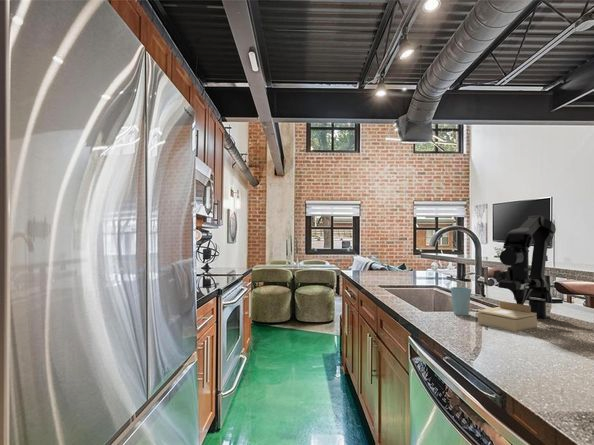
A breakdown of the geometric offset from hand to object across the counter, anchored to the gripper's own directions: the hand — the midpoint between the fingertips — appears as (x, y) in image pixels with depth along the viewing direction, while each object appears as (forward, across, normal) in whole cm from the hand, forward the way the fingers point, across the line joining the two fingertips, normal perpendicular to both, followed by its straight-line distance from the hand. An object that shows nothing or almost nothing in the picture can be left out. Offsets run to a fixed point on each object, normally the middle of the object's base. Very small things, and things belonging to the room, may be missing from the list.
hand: (520, 307), depth 131 cm
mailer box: (+6, +9, 0) cm, 11 cm away
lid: (+1, +9, 0) cm, 9 cm away
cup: (+6, +6, -20) cm, 22 cm away
